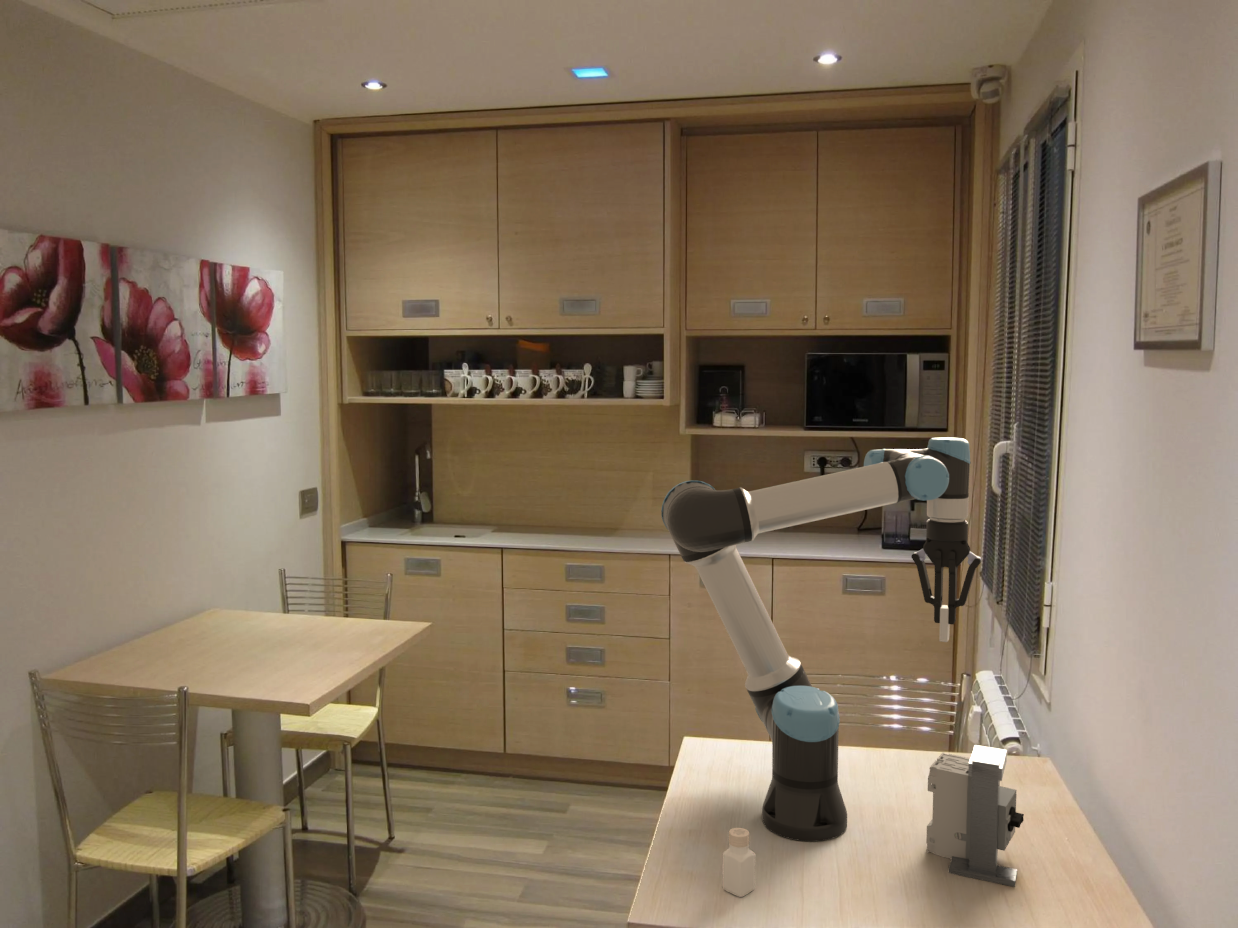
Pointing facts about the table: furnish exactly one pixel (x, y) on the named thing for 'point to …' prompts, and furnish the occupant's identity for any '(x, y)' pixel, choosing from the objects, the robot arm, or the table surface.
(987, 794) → the bracket
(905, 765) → the table surface
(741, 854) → the pepper shaker
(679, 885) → the table surface
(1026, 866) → the table surface
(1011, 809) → the circuit breaker
